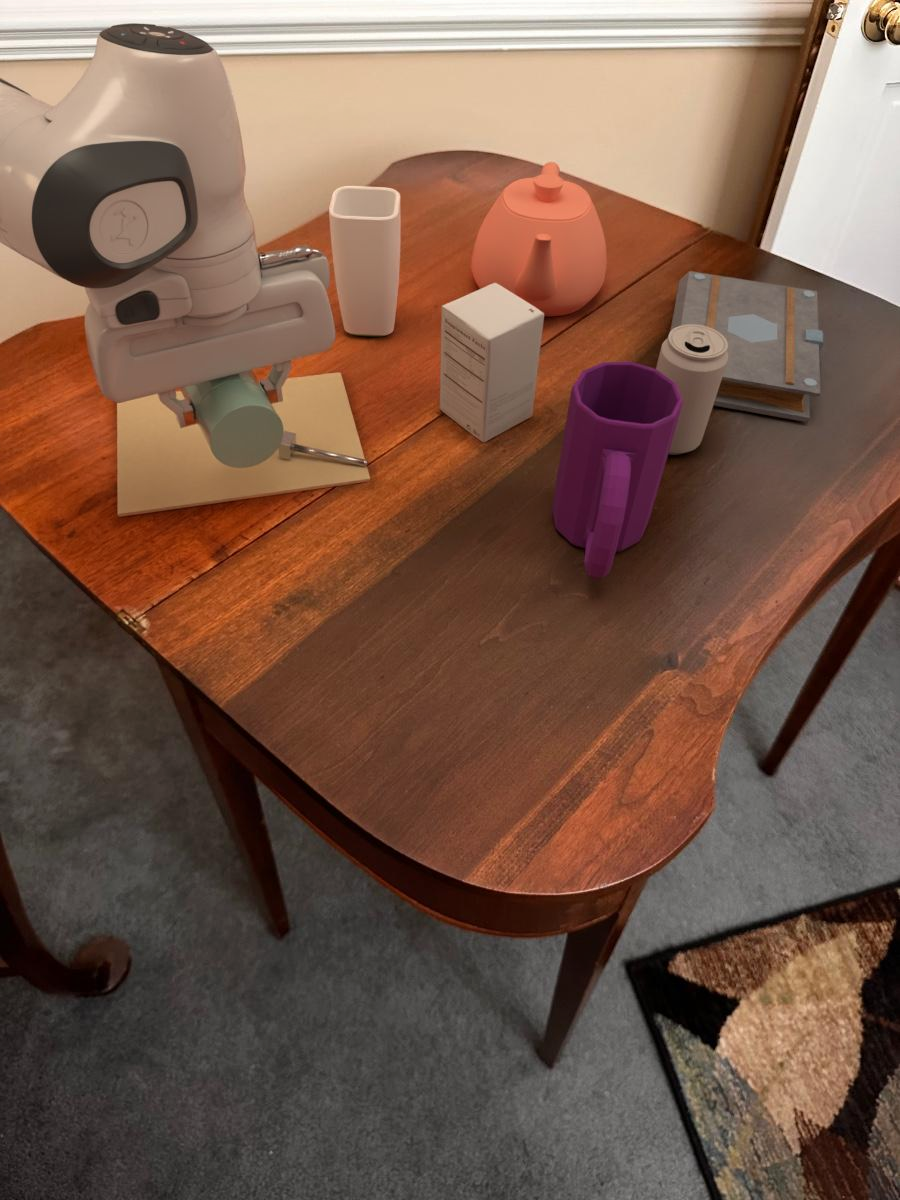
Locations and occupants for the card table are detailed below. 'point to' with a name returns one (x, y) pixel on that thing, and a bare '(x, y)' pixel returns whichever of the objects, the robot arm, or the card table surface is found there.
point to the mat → (195, 477)
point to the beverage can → (693, 378)
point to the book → (758, 341)
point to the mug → (613, 458)
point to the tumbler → (236, 419)
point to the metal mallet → (312, 451)
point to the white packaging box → (489, 360)
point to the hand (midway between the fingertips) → (229, 411)
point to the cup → (366, 257)
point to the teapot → (543, 244)
